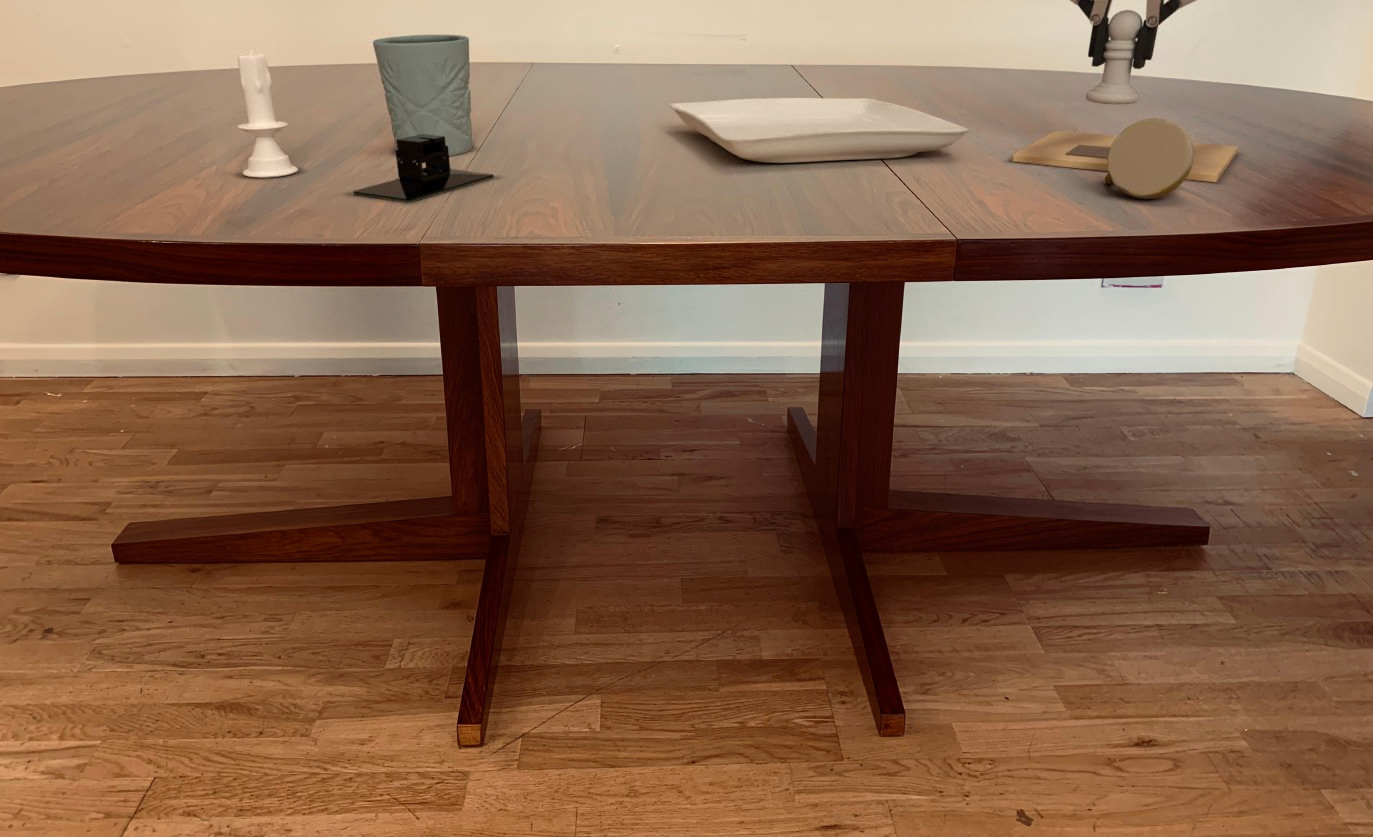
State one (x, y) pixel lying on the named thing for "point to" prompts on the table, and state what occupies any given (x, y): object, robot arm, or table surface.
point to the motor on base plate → (422, 171)
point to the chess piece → (1118, 61)
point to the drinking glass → (427, 87)
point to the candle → (262, 120)
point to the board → (1095, 149)
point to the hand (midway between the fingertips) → (1118, 64)
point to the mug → (1150, 158)
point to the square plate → (817, 128)
